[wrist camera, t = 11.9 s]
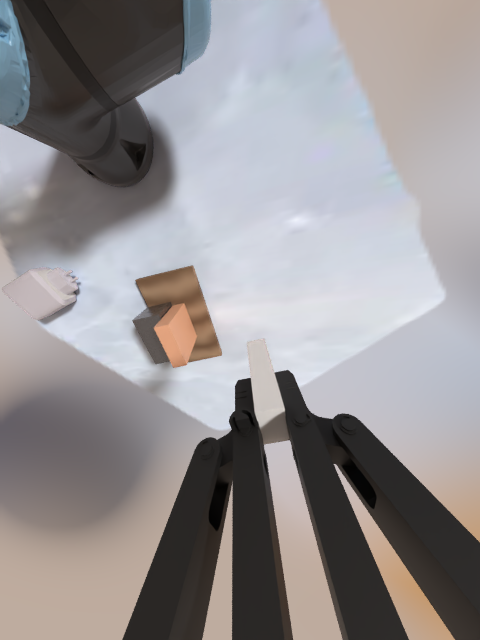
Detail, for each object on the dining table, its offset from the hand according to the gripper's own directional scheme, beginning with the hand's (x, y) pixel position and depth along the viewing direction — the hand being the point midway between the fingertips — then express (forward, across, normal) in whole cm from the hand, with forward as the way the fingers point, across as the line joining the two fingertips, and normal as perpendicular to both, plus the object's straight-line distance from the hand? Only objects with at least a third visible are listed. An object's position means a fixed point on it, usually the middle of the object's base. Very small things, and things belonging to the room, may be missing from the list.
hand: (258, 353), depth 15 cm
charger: (+33, -45, +8) cm, 56 cm away
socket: (+31, -22, -8) cm, 39 cm away
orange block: (+31, -20, -8) cm, 38 cm away
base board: (+32, -18, -8) cm, 38 cm away
